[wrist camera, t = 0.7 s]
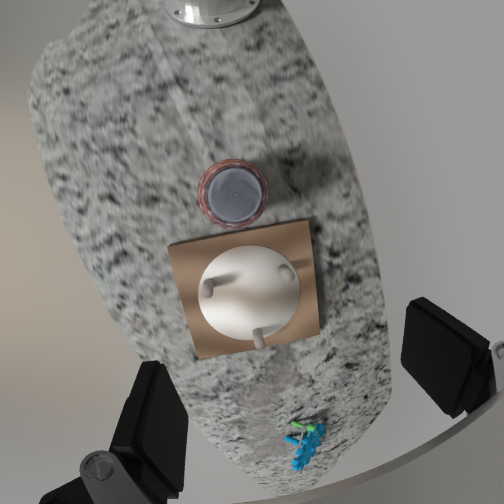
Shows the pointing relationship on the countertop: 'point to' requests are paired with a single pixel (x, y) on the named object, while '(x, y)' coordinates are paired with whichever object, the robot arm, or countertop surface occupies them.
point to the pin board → (248, 287)
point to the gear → (306, 443)
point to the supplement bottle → (233, 193)
